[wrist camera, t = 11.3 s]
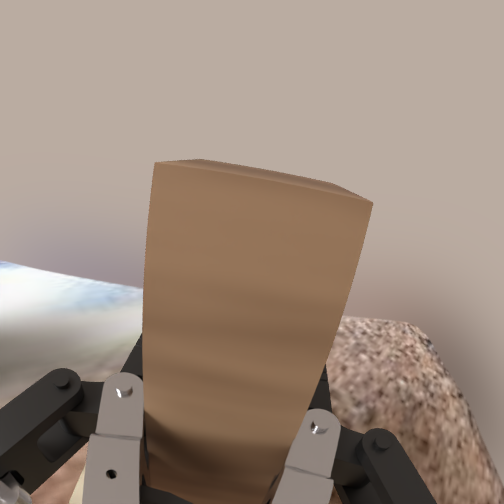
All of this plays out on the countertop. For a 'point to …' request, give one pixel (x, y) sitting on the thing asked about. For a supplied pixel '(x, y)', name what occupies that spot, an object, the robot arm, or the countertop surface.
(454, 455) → the countertop surface
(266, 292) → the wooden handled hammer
